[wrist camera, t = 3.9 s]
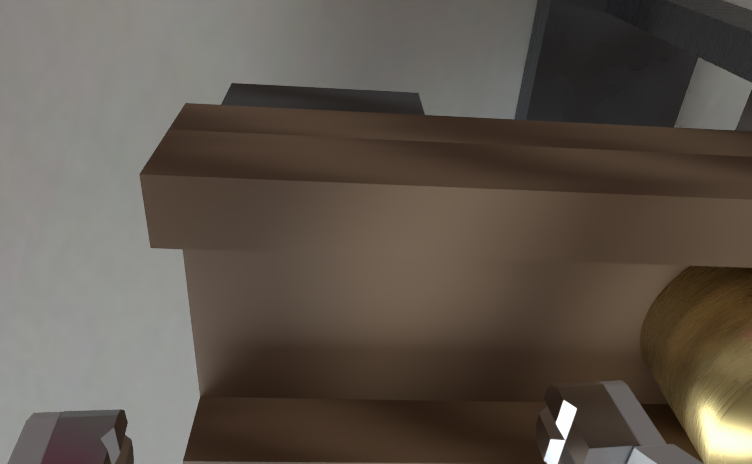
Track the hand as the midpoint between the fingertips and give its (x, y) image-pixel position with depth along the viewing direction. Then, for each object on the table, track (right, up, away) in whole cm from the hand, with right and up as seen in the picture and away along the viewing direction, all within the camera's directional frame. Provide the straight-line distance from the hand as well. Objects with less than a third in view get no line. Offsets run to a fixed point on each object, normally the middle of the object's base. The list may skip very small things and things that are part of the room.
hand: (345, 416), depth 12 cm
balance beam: (+10, +4, +7) cm, 13 cm away
